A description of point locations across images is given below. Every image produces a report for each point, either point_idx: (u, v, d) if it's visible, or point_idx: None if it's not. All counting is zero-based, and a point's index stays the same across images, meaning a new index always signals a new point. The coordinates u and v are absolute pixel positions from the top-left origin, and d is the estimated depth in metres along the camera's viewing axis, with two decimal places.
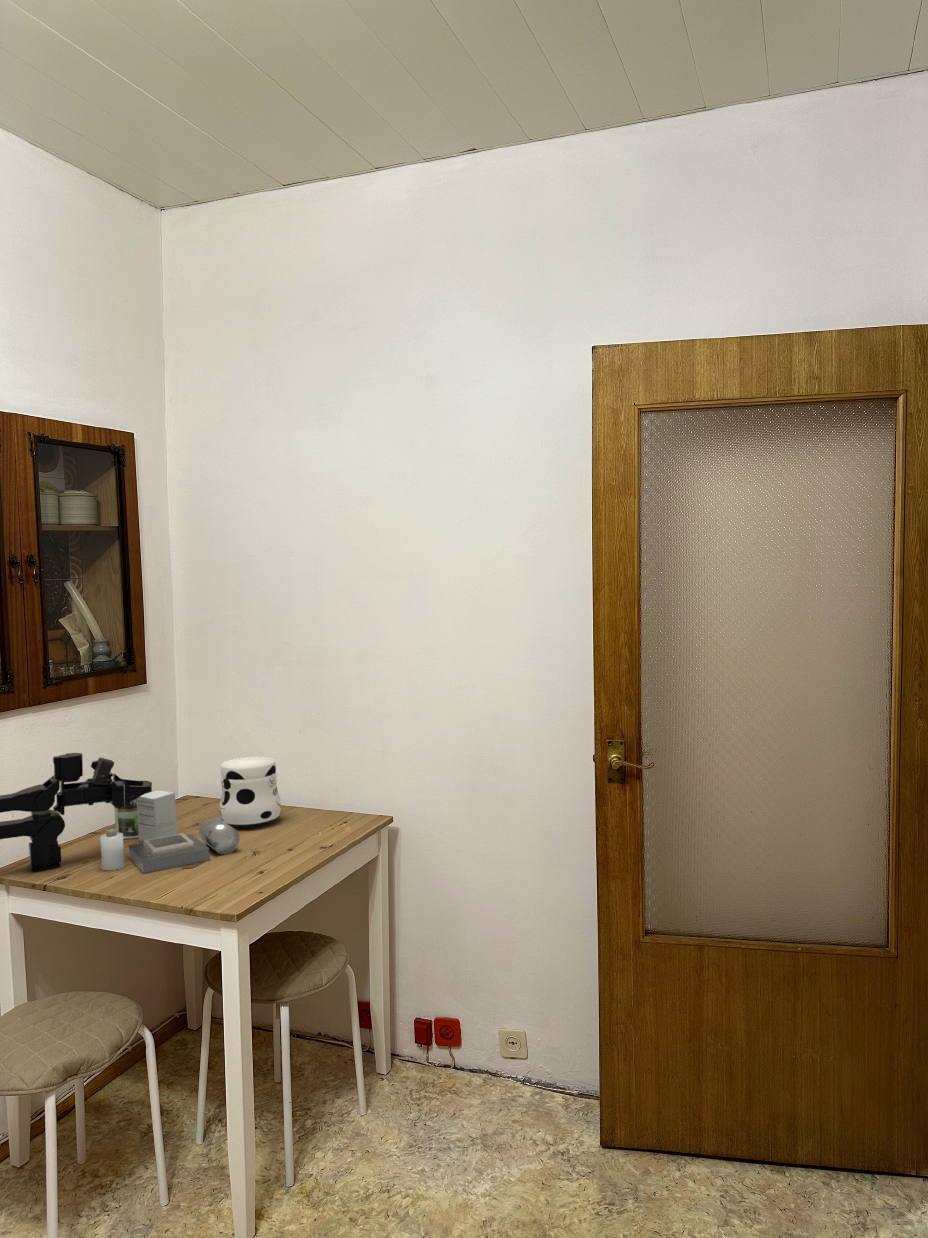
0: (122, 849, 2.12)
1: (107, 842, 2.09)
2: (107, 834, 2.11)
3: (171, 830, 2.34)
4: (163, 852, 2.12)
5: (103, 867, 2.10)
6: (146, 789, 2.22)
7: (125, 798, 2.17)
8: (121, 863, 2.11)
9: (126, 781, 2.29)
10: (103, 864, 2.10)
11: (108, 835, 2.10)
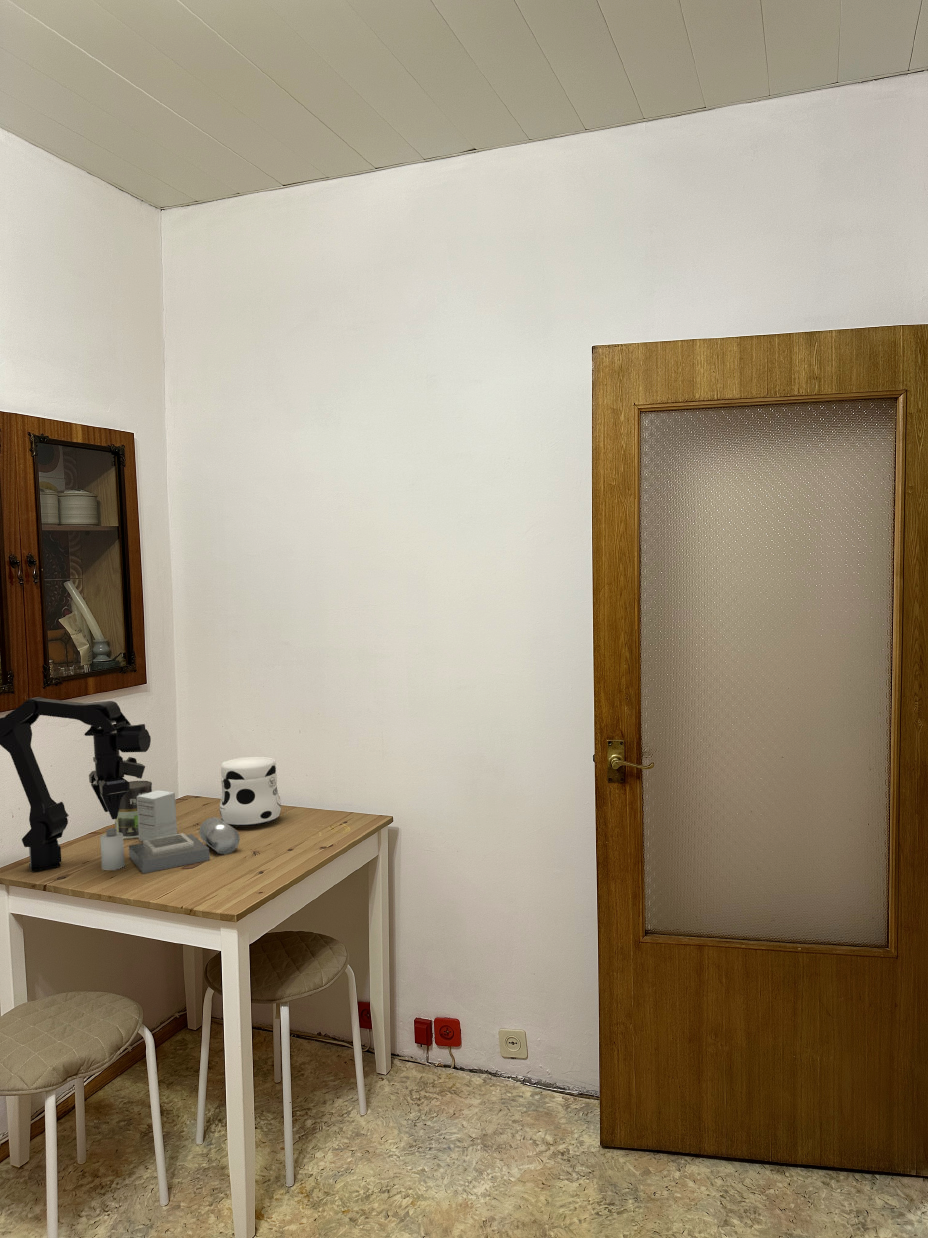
0: (122, 849, 2.12)
1: (107, 842, 2.09)
2: (107, 834, 2.11)
3: (171, 830, 2.34)
4: (163, 852, 2.12)
5: (103, 867, 2.10)
6: (115, 815, 2.07)
7: (110, 794, 2.04)
8: (121, 863, 2.11)
9: None
10: (103, 864, 2.10)
11: (108, 835, 2.10)
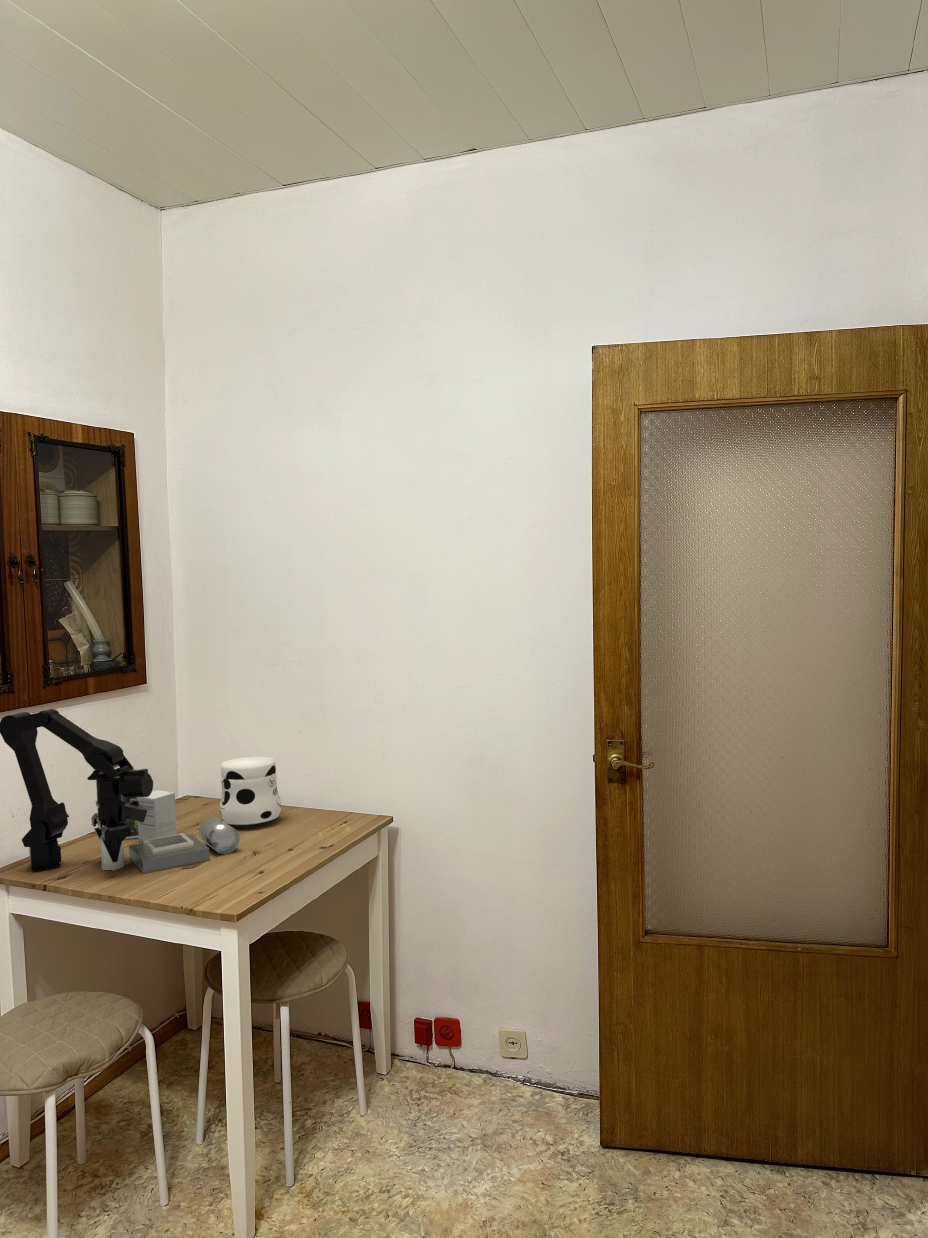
0: (122, 849, 2.12)
1: None
2: None
3: (171, 830, 2.34)
4: (163, 852, 2.12)
5: (103, 867, 2.10)
6: (115, 858, 2.09)
7: None
8: (121, 863, 2.11)
9: None
10: (103, 864, 2.10)
11: None
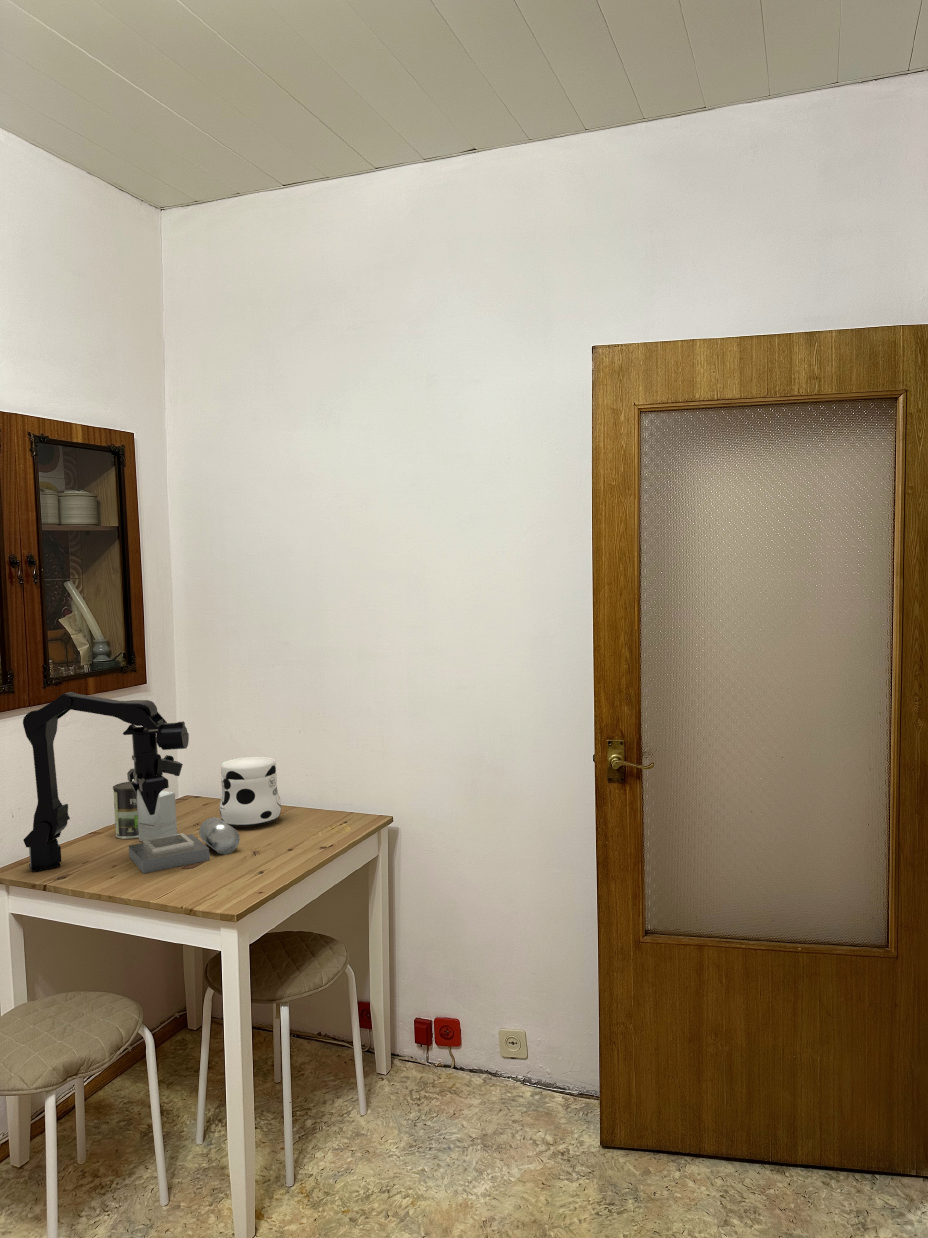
0: (159, 802, 2.15)
1: None
2: None
3: (171, 830, 2.34)
4: (163, 852, 2.12)
5: (140, 820, 2.13)
6: (152, 810, 2.12)
7: (148, 790, 2.09)
8: (158, 816, 2.14)
9: None
10: (140, 817, 2.13)
11: None
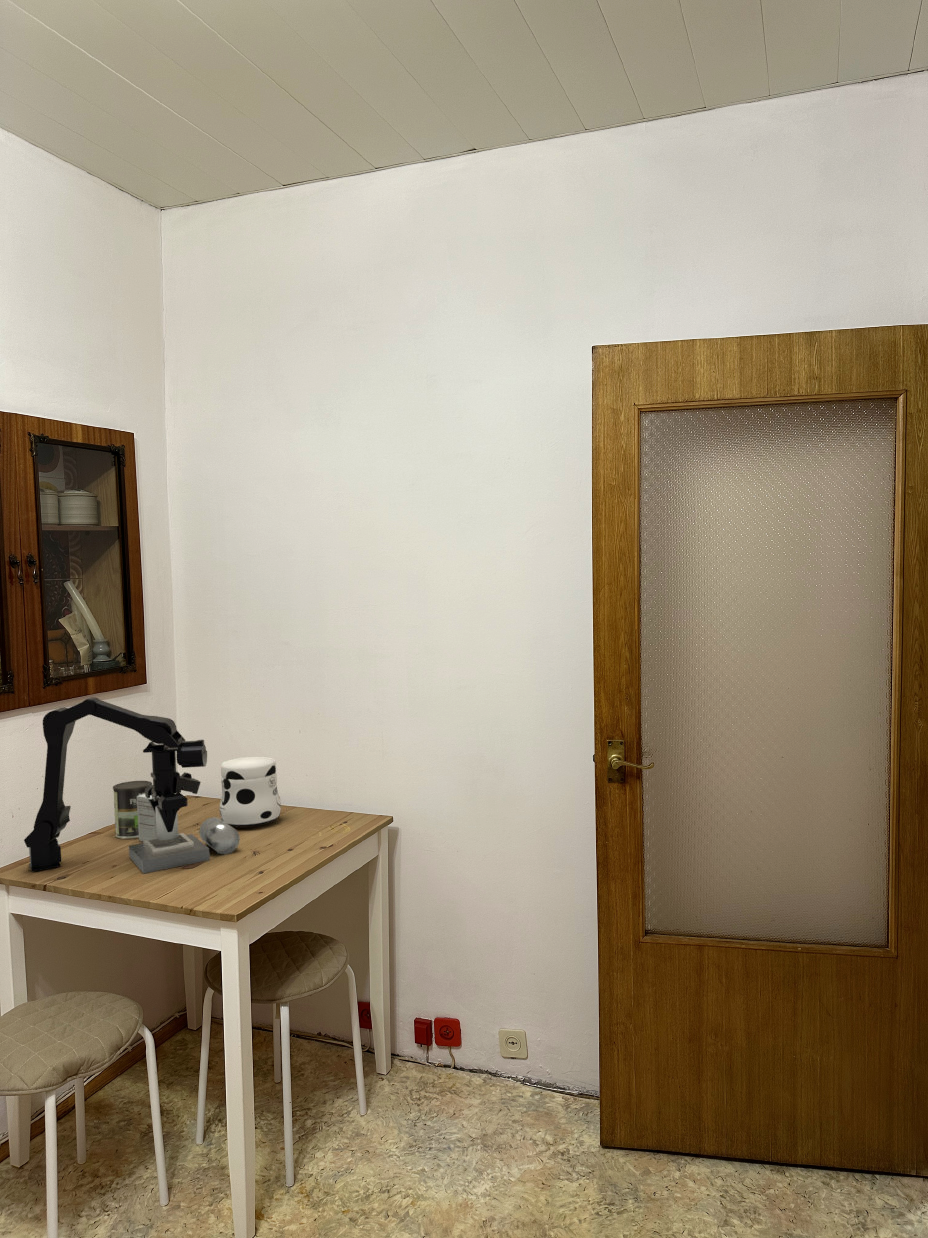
0: (177, 819, 2.17)
1: None
2: None
3: None
4: (163, 852, 2.12)
5: (158, 837, 2.15)
6: (170, 828, 2.14)
7: (167, 808, 2.11)
8: (176, 833, 2.16)
9: None
10: (158, 834, 2.15)
11: None
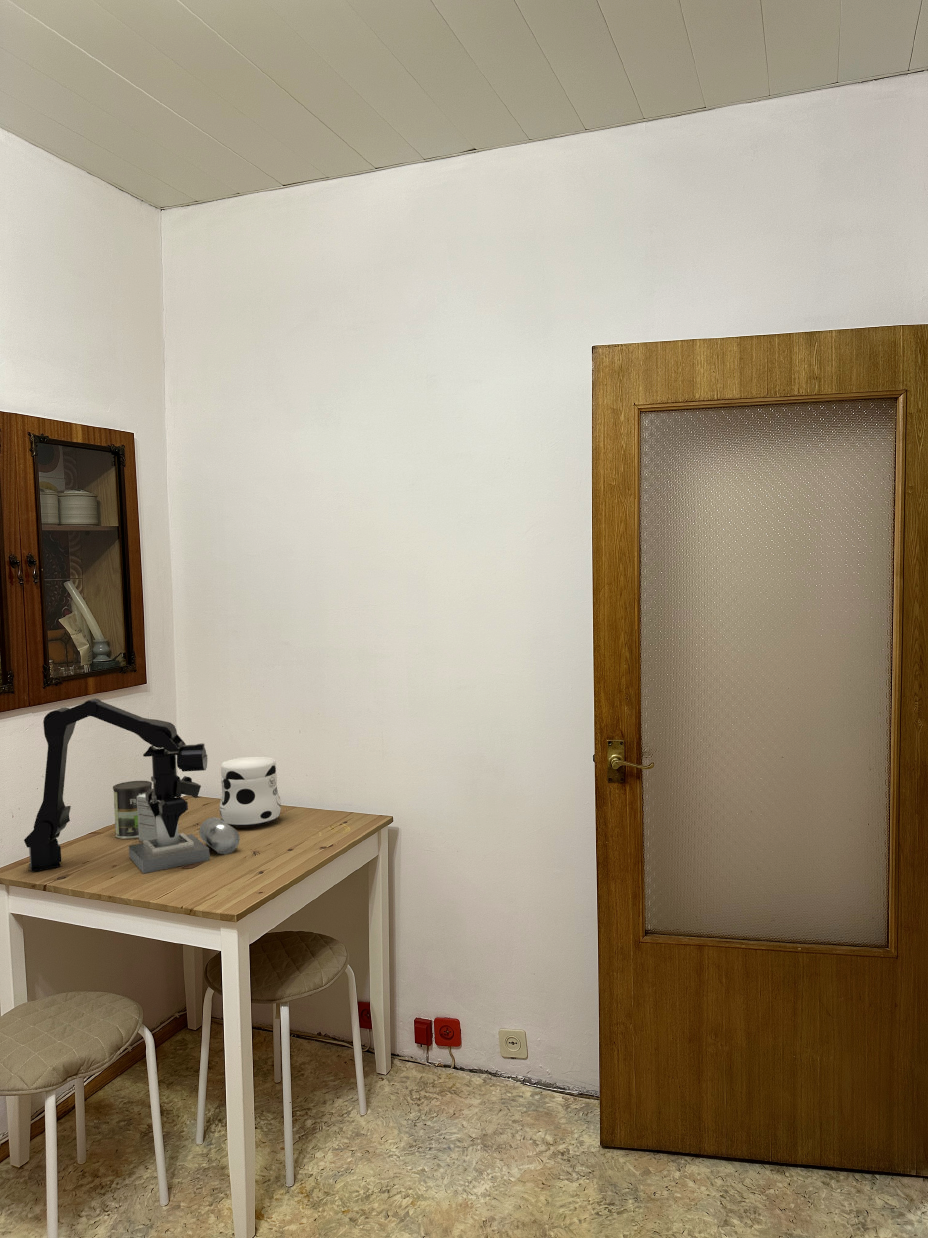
0: (177, 829, 2.17)
1: None
2: None
3: None
4: (163, 852, 2.12)
5: None
6: (172, 833, 2.13)
7: (169, 814, 2.10)
8: (176, 842, 2.16)
9: None
10: (159, 844, 2.15)
11: None
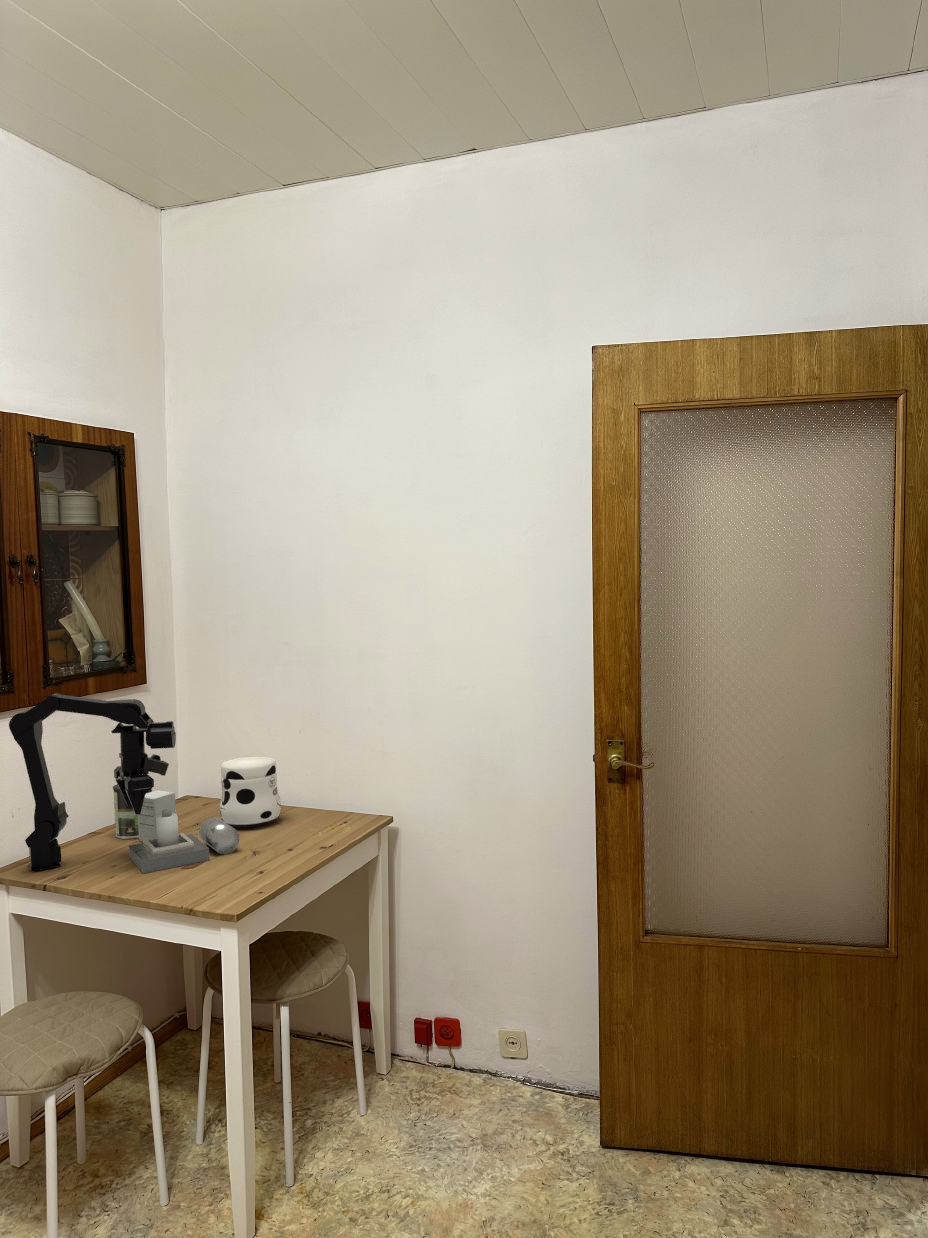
0: (177, 829, 2.17)
1: (163, 822, 2.14)
2: (163, 814, 2.16)
3: None
4: (163, 852, 2.12)
5: None
6: (138, 810, 2.13)
7: (135, 790, 2.10)
8: (176, 843, 2.16)
9: None
10: (159, 844, 2.15)
11: (164, 815, 2.16)
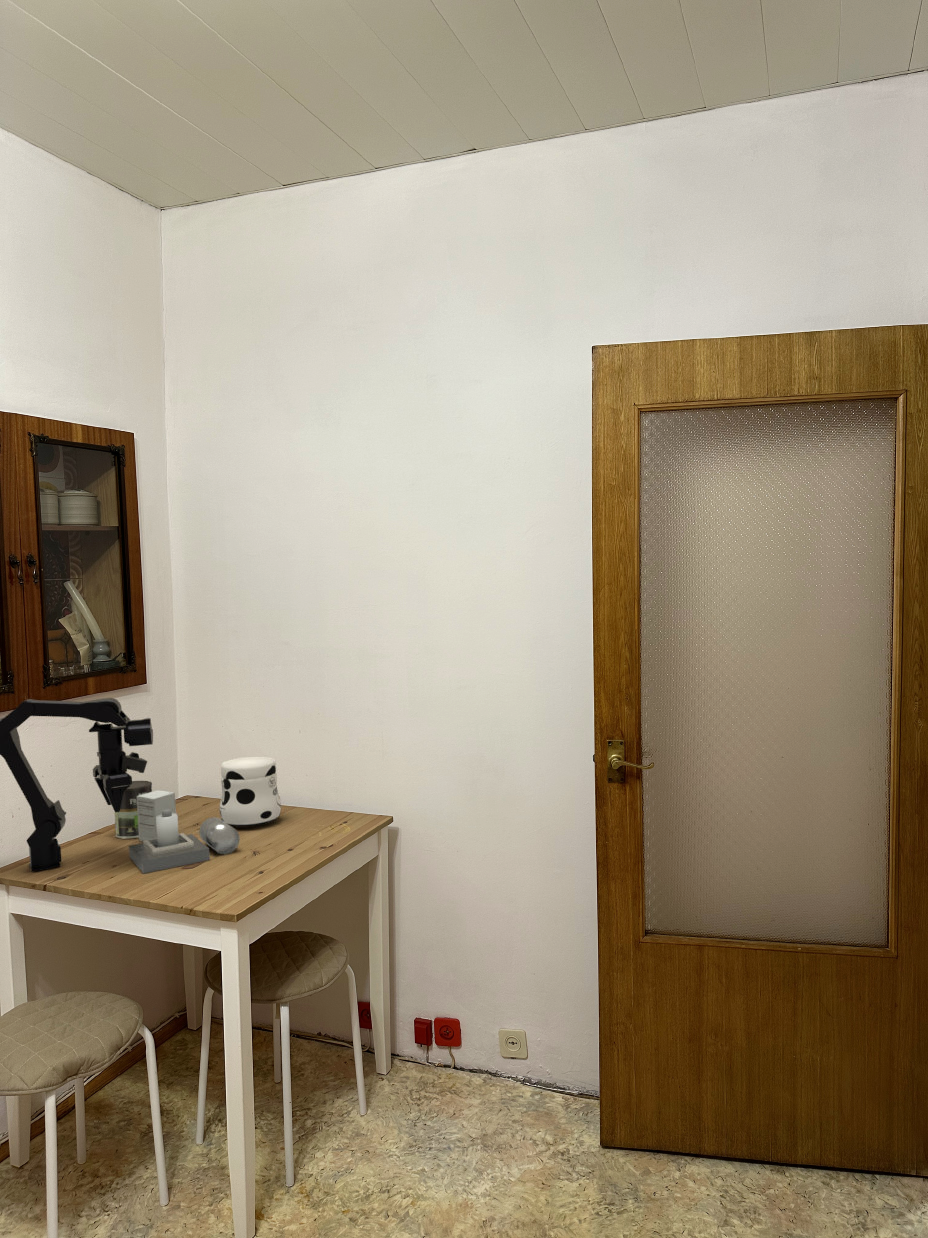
0: (177, 829, 2.17)
1: (163, 822, 2.14)
2: (163, 814, 2.16)
3: None
4: (163, 852, 2.12)
5: (159, 846, 2.15)
6: (117, 808, 2.14)
7: (114, 788, 2.11)
8: (176, 843, 2.16)
9: None
10: (159, 844, 2.15)
11: (164, 815, 2.16)
